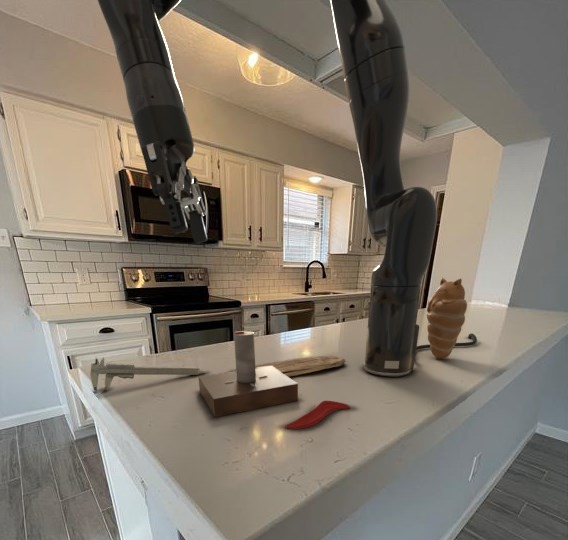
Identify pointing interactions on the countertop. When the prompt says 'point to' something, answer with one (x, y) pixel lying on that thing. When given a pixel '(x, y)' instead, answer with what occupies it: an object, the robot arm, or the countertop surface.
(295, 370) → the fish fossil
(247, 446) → the countertop surface
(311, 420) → the cayenne pepper
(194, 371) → the caliper
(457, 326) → the cat bread figurine
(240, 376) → the rod
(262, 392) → the rod block
